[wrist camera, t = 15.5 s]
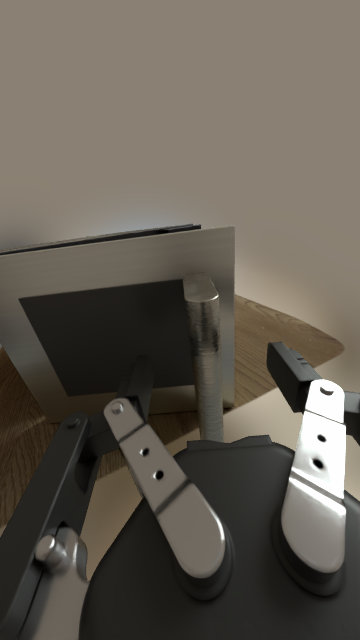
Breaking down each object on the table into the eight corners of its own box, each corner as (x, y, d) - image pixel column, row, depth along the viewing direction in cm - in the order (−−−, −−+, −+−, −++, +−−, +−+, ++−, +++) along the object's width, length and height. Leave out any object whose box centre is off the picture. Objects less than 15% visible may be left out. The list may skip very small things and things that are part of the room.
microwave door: (252, 468, 16) (271, 228, 8) (9, 486, 17) (-183, 286, 9) (230, 395, 23) (229, 225, 15) (57, 411, 24) (-30, 259, 16)
